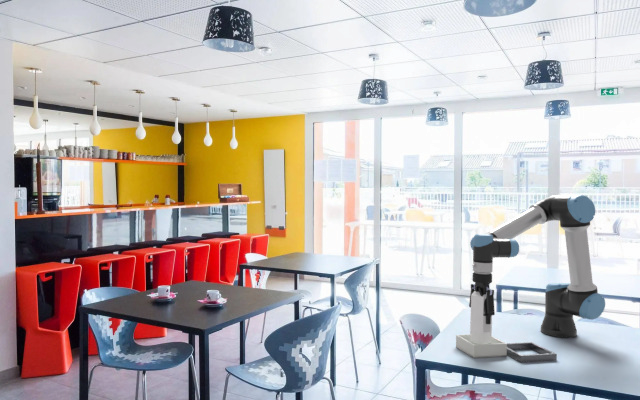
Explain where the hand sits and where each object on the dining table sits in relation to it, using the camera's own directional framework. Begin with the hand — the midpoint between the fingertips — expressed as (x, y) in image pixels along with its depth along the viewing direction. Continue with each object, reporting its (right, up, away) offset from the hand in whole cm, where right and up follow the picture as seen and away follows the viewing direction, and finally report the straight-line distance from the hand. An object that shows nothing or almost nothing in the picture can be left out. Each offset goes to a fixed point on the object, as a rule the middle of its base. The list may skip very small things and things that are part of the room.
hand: (480, 328), depth 203 cm
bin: (0, -9, 0) cm, 9 cm away
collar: (+17, -9, -3) cm, 20 cm away
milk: (0, -5, 0) cm, 5 cm away
